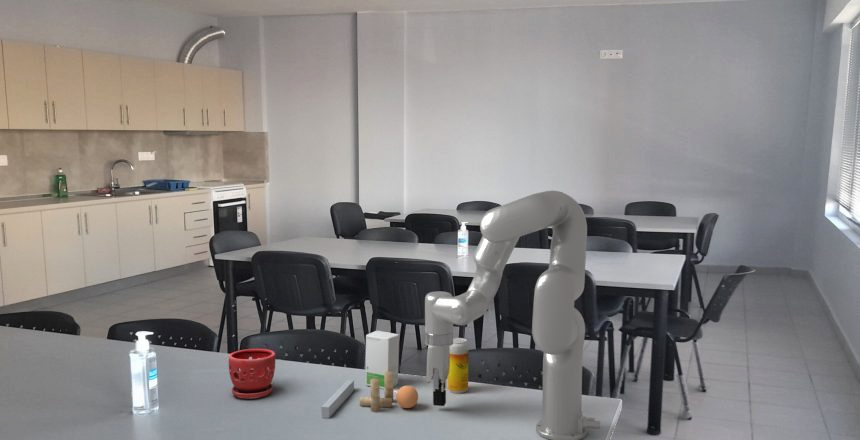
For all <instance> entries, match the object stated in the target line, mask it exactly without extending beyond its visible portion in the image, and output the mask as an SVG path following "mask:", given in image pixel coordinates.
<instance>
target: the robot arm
mask: <svg viewBox="0 0 860 440" xmlns="http://www.w3.org/2000/svg"><path fill="white" fill-rule="evenodd" d="M550 227H551V228H552V237H551V241H550V249H549V250H550V253H549V264H548V269H546V270H544V272H542V273H541V274H540V275H539V276H538V279H537V280H536V284H535V287H534V295H533V306H532V307H533V308H532V321H531V322H532V324H531V325H532V326H531V334H532V335H531V336H532V339H533V341H534V344H535V345H536V347H537V349H539V350H540V351H541V352H543V358H542V359H543V360H542V401H541V402H542V410H541V411H542V414H541V415H542V417H541V420H540V421H538V422H537V423H536V425H535V432H536V433H537V434H538V435H540V437H543V438H545V439H548V440H582V439H584V438H586V436H587V435H588V429H593V430H594V429H595V430H601V421H600V420H596V418H595V417H586V416H584V415H583V414H584V413H583V410H582V407H583V406H582V404H583V401H582V397H583V395H582V394H583V391H582V390H583V389H582V387H583V358H584V357H583V356H584V355H583V354H584V346H585V344H584V343H585V336H586V335H585V334H586V323H585V321H584V318H583V316H582V313H580V311H579V310H578V309H577V308H576V307H575V301H576V300H577V299H578V298H580V296H581V295H582V294H583V292H584V289H585V280H586V279H585V276H586V260H587V240H588V223H587V219H586V215H585V212H584V211H583V208H582V206H581V205H580V204H579V202H578V201H577V200H576V199H574V198H573V197H572V196H570V195H569V194H567V193H564V192H562V191H558V190H545V191H542V192H535V193H532V194H530V195H527V196H523V197H521V198H519V199H517V200H513V201H511V202H508V203H506V204H503V205H500V206H496V207H494V208H493V207H492V208H491V209H488V210H487V211H486V212H484V214H483V216H482V217H481V220H480V226H479V229H480V230H479V231H480V232H481V238H480V241H479V243H478V245H477V246H476V249H475V250H474V253H473V255H472V258H473V261H474V263H475V265H476V269H475V273H474V277H473V278H472V280H471V283H470V285H469V286H468V289H467V290H466V292H463V293H461V294H460V295H456V296H453V295H452V293H450V292H447V291H442V290H441V291H440V290H439V291H430V292H428V293H426V295H425V297H424V329H425V330H424V334H425V336H424V337H425V338H424V340H425V341H424V343H425V345H426V346H428V347H427V353H426V376H425V377H426V378H425V381H426V383H427V384H429V383H431V381H432V387H433V389H432V404H433V406H434V407H436V406H439V407H444V406H445V405H446V404H447V392H446V391H447V390H446V388H447V386H446V385H447V384H446V383H447V377H448V375H449V370H450V347H449V346H451V345H453V338H454V325H457V326H466V325H468V324H470V323H472V322H474V321H475V320H477V319H479V318H480V317H482V316H483V315H484V314H486V313H487V311H488V309H489V308H490V306H491V304H492V302H493V300H494V298H495V296H496V294H497V292H498V290H499V287H500V285H501V280H502V277H503V273H504V269H505V267H506V265H507V263H508V261H509V260H510V257H511V255H512V253H513V251H514V249H515V247H516V246H517V243H518V242H519V240H520V237H522V236H526V235H529V234H532V233H535V232H538V231H540V230H544V229H547V228H550Z"/></svg>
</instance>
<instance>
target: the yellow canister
mask: <svg viewBox="0 0 860 440" xmlns="http://www.w3.org/2000/svg"><path fill="white" fill-rule="evenodd" d="M449 347H450V370H449V375H448V377H447V379H446V383H447V384H446V385H447V386H446V388H447V389H448V391H449V392H450V393H451V394H464V393H466V392H467V390H468V389H469V343H468V340H467V339H466V338H464V337H463V338H462V337H453V345H451V346H449Z"/></svg>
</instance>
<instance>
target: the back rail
mask: <svg viewBox="0 0 860 440" xmlns="http://www.w3.org/2000/svg"><path fill="white" fill-rule="evenodd" d="M354 391H355V379H347V380H345V382H344V383H343V384H342V385H341V386H340V387H339V388H338V389H337V390H336V391H335V392H334V393H333V394H331V396H330V398H329V397H328V399H327V400H326V401H325V402H324V403H323V404H322V405H321V418H322V419H330V418H331V417H332V416H333V414H334V413H335V412H336V411H337V410H338V409H339V407H340V406H341V405H342V404H343V403H344V402H345V401H346V400H347V399H348V397H350V395H351V394H352V393H353V392H354Z"/></svg>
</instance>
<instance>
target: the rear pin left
mask: <svg viewBox="0 0 860 440" xmlns="http://www.w3.org/2000/svg"><path fill="white" fill-rule="evenodd" d="M370 384H371V386H370V397H371V406H370V412H372V413H378V412H380V411H381V410H380V409H381V407H380V398H381V395H380V392H381V391H380V389H381V388H379V379H377V378H374V379H371V380H370Z"/></svg>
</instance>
